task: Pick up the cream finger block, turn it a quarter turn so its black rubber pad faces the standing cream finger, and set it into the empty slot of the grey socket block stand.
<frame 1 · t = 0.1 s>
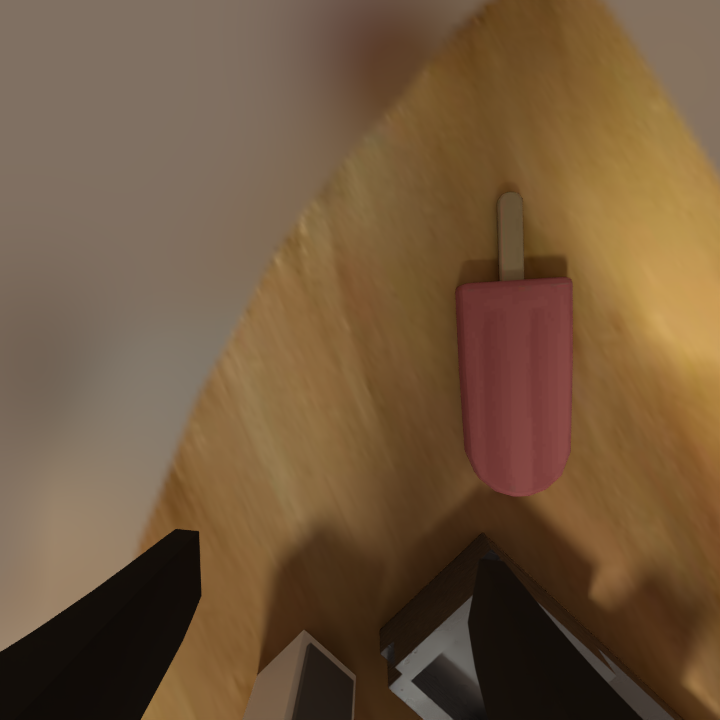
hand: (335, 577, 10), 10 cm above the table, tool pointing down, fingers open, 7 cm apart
finger block: (306, 675, 22), on the table
popsicle: (506, 346, 20), on the table
grey socket block stand: (560, 701, 21), on the table
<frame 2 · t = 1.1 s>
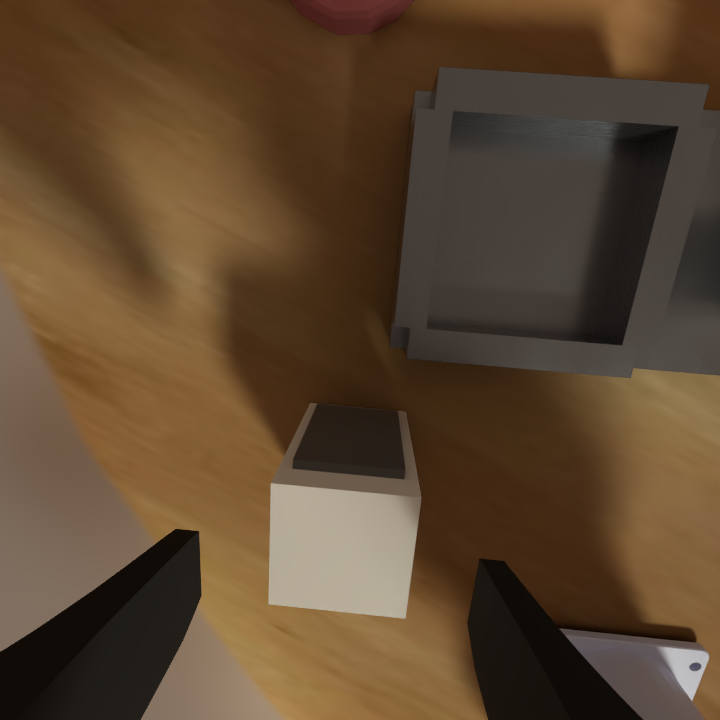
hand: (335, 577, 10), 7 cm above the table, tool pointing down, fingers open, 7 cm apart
finger block: (354, 450, 16), on the table
grey socket block stand: (676, 253, 14), on the table
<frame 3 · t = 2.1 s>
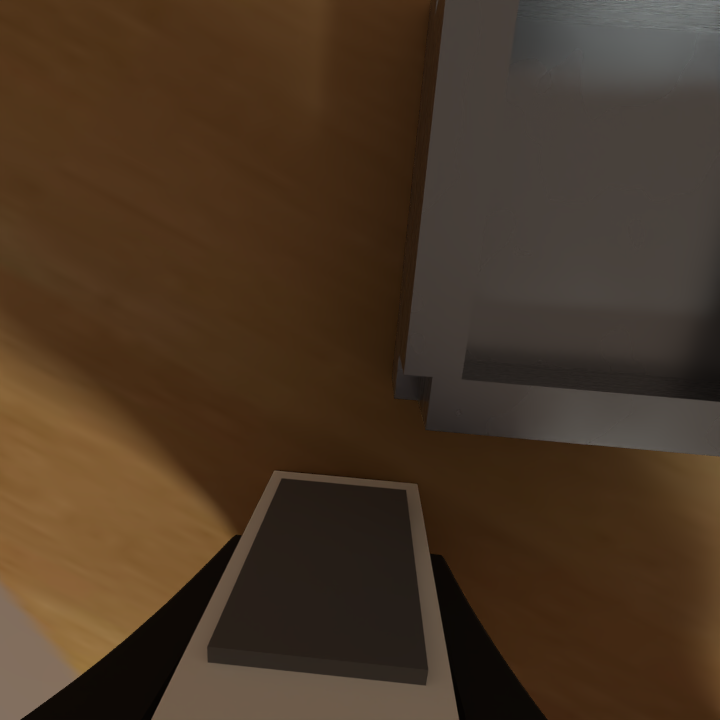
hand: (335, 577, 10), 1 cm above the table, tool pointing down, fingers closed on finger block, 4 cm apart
finger block: (340, 537, 11), on the table, touching gripper
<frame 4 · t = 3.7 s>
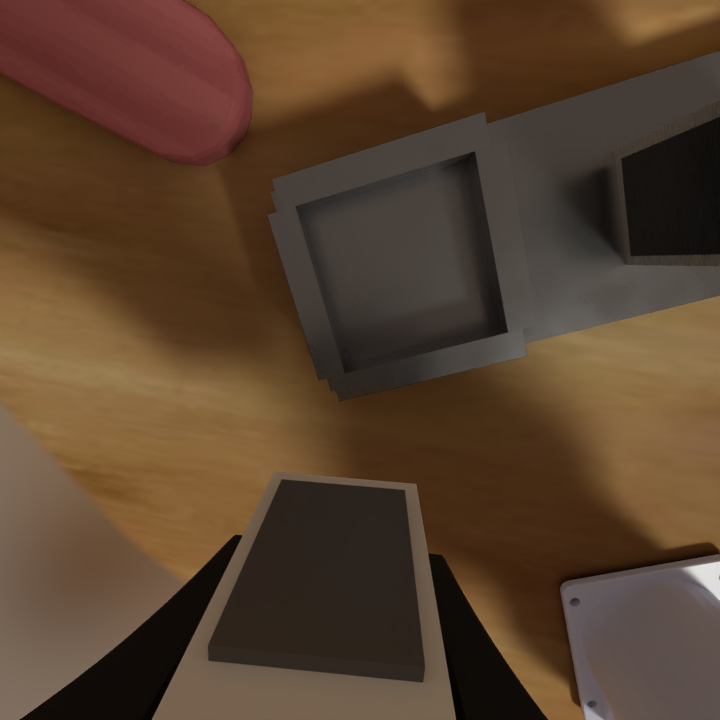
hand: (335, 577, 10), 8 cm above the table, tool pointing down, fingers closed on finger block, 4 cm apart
finger block: (341, 537, 11), point 7 cm above the table, touching gripper
popsicle: (79, 36, 15), on the table
grey socket block stand: (545, 228, 15), on the table
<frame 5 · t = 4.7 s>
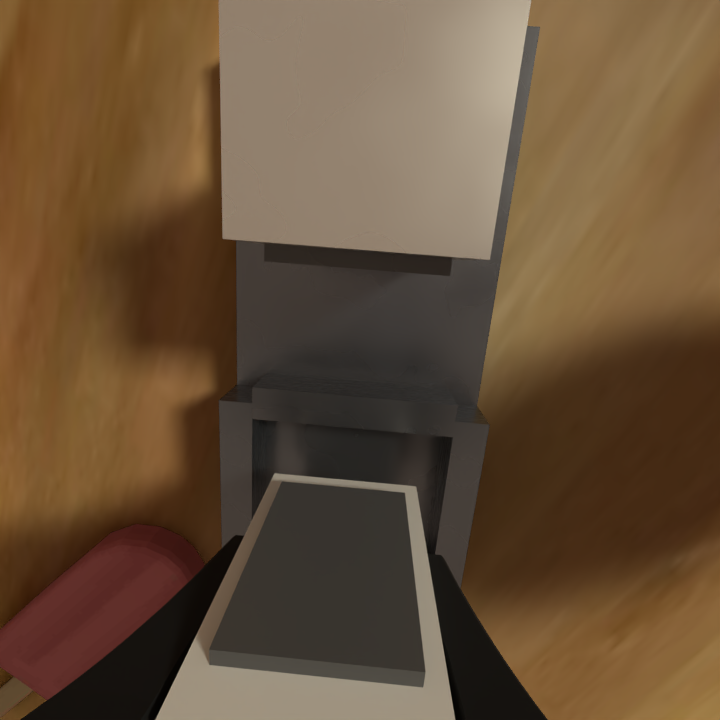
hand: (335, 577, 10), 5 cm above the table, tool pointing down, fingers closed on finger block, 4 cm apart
finger block: (340, 539, 11), point 4 cm above the table, touching gripper
popsicle: (94, 617, 18), on the table
grey socket block stand: (363, 314, 13), on the table
when the fingers open (4 cm above the table, at t = 5.4 s): finger block stays where it is, resting on grey socket block stand.
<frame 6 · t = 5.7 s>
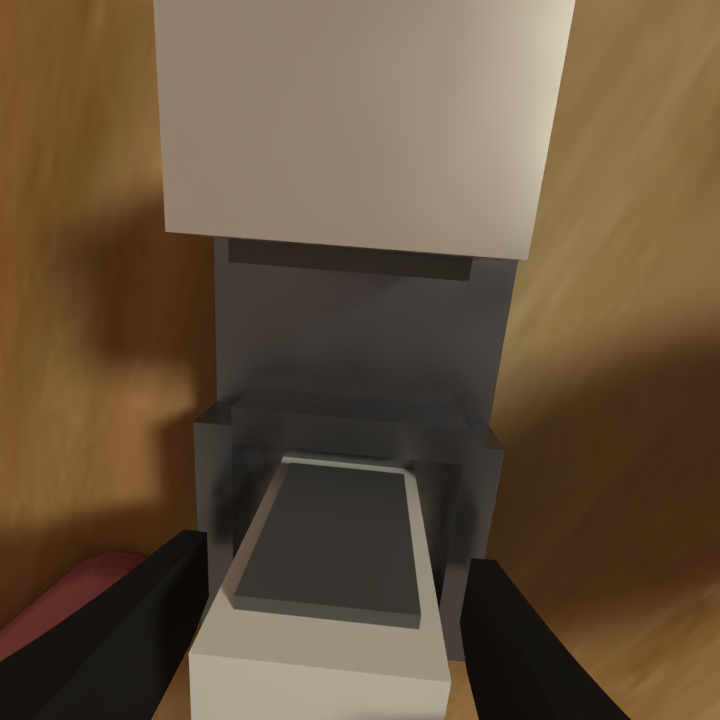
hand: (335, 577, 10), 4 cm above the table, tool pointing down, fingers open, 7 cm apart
finger block: (343, 519, 12), point 1 cm above the table, touching grey socket block stand
popsicle: (69, 648, 17), on the table
grey socket block stand: (360, 321, 12), on the table
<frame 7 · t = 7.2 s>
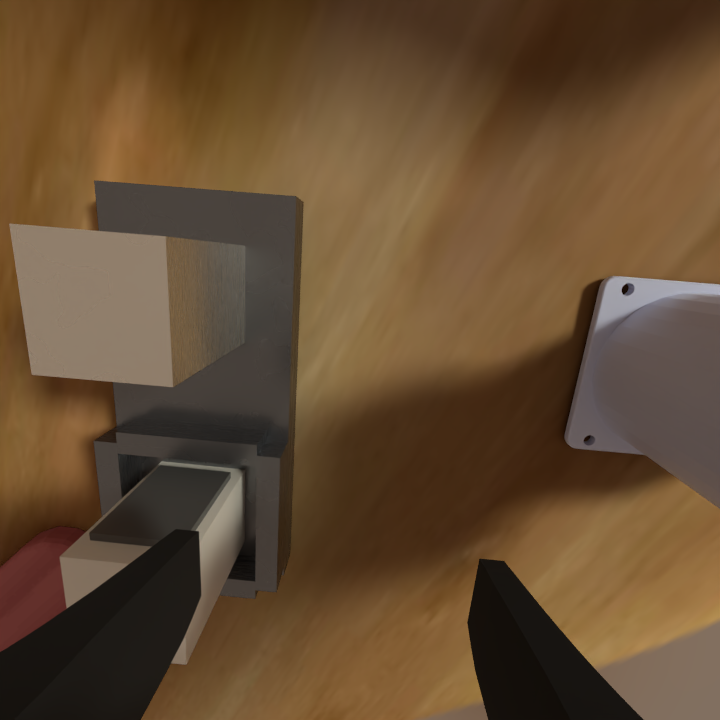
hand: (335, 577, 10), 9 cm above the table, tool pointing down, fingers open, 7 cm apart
finger block: (204, 502, 18), point 1 cm above the table, touching grey socket block stand
popsicle: (32, 600, 23), on the table
grey socket block stand: (214, 372, 18), on the table
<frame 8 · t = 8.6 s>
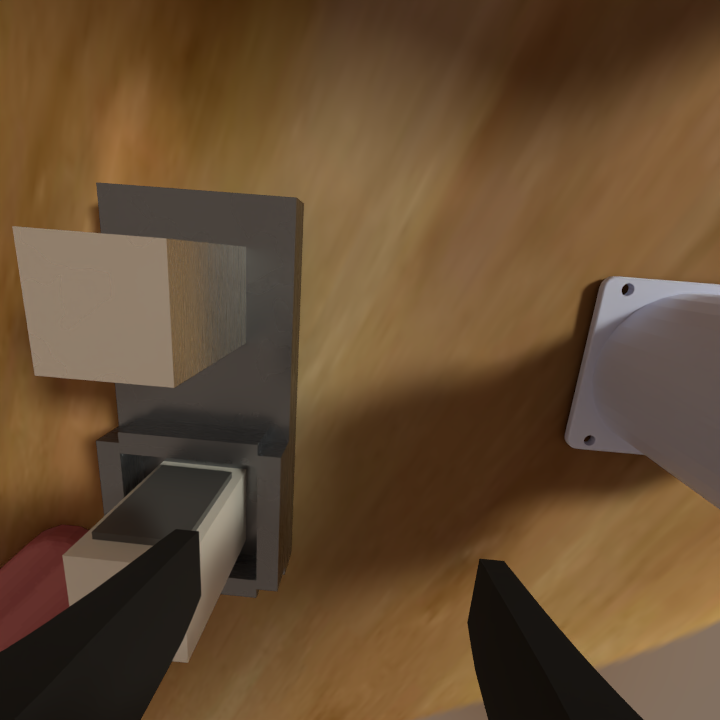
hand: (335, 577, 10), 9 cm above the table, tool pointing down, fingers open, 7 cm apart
finger block: (205, 501, 19), point 1 cm above the table, touching grey socket block stand
popsicle: (35, 598, 23), on the table
grey socket block stand: (215, 373, 18), on the table
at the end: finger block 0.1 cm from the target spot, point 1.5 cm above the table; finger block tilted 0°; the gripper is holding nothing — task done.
